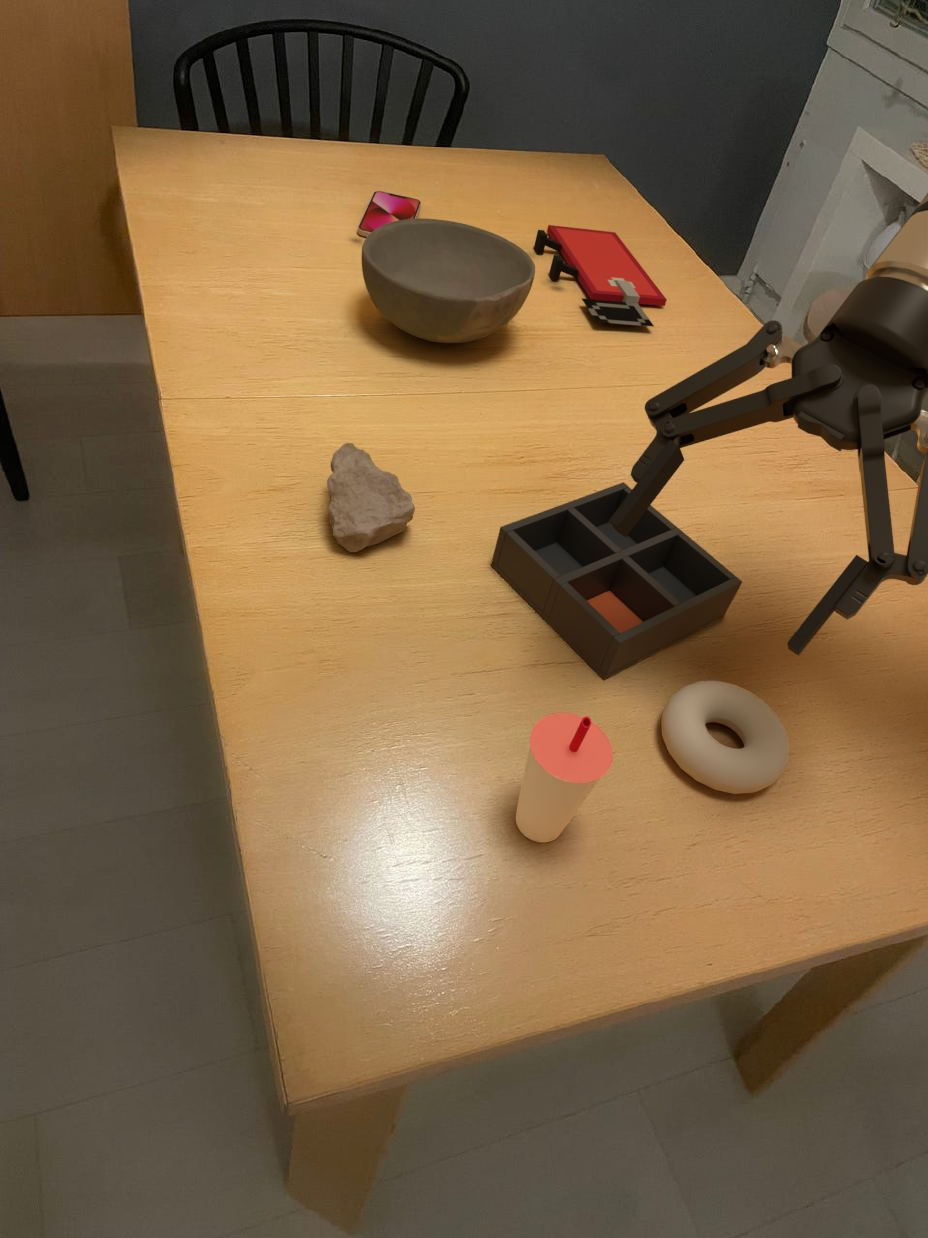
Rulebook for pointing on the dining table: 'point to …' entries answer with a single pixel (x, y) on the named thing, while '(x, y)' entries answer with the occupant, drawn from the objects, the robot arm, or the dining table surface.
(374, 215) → the smartphone
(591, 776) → the cup
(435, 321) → the bowl
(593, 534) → the grid
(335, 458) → the stone
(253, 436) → the dining table surface
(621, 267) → the red board with handle
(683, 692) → the donut
